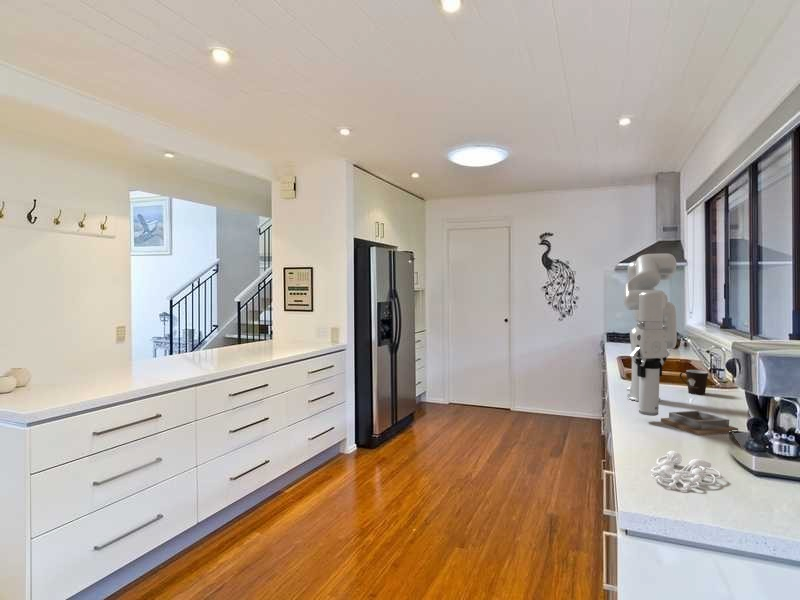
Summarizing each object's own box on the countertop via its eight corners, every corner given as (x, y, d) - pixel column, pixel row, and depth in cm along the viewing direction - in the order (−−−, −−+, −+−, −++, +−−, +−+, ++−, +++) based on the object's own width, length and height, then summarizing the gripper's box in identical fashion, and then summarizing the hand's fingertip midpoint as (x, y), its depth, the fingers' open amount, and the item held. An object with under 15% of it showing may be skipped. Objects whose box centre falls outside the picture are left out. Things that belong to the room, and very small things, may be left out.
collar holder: (660, 421, 168) (660, 411, 168) (697, 418, 172) (697, 408, 172) (698, 435, 153) (699, 424, 152) (738, 431, 156) (738, 420, 156)
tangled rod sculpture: (702, 505, 106) (704, 488, 106) (636, 481, 117) (637, 465, 116) (725, 479, 119) (727, 464, 119) (664, 459, 130) (665, 445, 129)
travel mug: (662, 416, 164) (663, 360, 163) (641, 415, 165) (643, 359, 164) (656, 411, 170) (657, 356, 169) (636, 410, 172) (637, 356, 170)
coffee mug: (712, 395, 210) (712, 373, 209) (692, 395, 210) (693, 373, 209) (696, 389, 221) (696, 368, 221) (677, 389, 221) (678, 368, 221)
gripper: (637, 328, 160) (636, 379, 161) (679, 326, 165) (678, 376, 165) (622, 325, 168) (621, 375, 169) (662, 324, 172) (661, 372, 173)
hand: (649, 375), depth 167 cm, fingers closed on travel mug, 6 cm apart
